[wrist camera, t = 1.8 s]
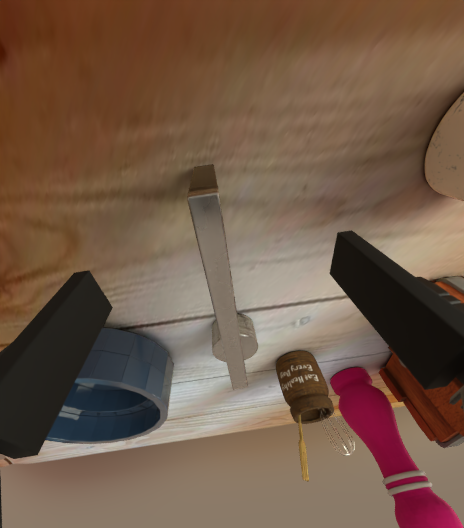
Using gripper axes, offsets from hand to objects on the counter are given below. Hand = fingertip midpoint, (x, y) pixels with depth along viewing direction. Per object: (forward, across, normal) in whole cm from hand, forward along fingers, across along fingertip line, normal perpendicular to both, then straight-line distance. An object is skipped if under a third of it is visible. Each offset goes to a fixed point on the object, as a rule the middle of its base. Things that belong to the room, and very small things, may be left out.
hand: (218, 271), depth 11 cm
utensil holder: (+7, +8, -24) cm, 26 cm away
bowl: (+7, -16, -17) cm, 24 cm away
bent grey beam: (+7, 0, -6) cm, 9 cm away
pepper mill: (+8, +18, -32) cm, 37 cm away
